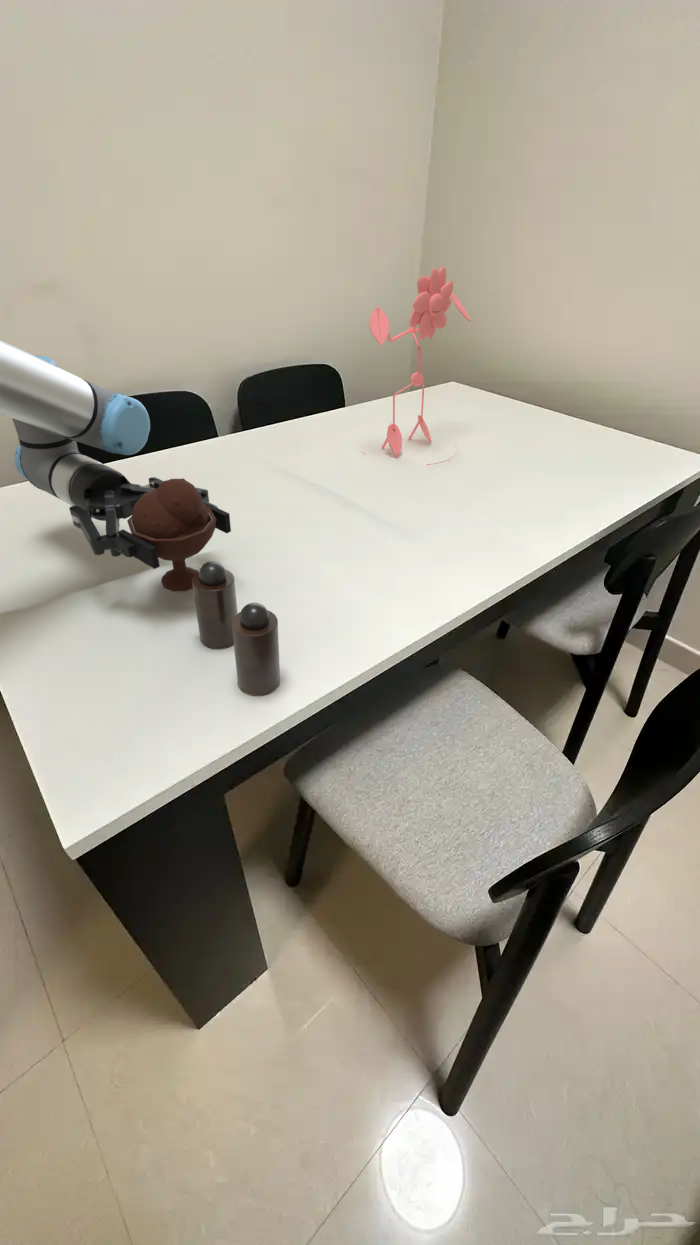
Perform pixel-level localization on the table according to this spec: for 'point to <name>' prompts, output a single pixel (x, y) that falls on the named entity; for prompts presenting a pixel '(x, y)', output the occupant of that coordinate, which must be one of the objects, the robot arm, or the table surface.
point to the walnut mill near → (256, 649)
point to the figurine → (428, 316)
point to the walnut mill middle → (215, 604)
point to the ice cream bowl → (174, 528)
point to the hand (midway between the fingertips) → (193, 540)
